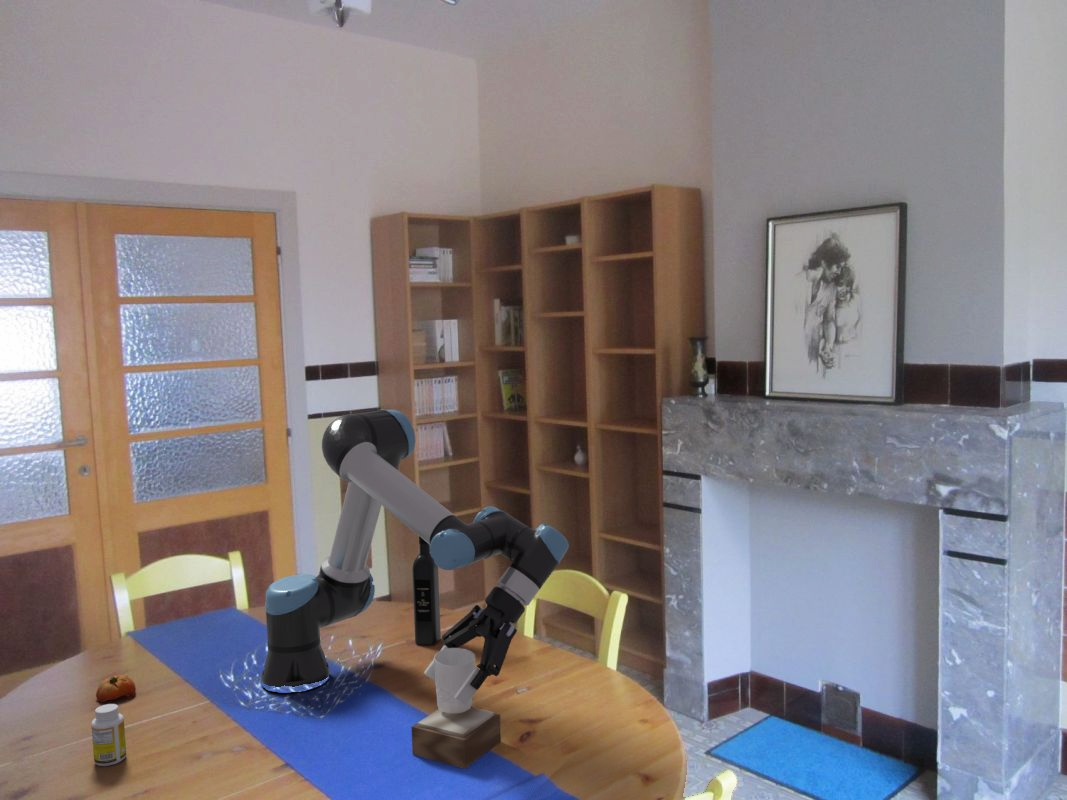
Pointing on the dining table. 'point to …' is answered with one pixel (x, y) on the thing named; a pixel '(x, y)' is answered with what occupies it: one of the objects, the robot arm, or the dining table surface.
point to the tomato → (115, 688)
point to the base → (456, 736)
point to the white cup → (452, 677)
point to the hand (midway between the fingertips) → (443, 689)
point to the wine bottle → (426, 597)
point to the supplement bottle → (108, 735)
